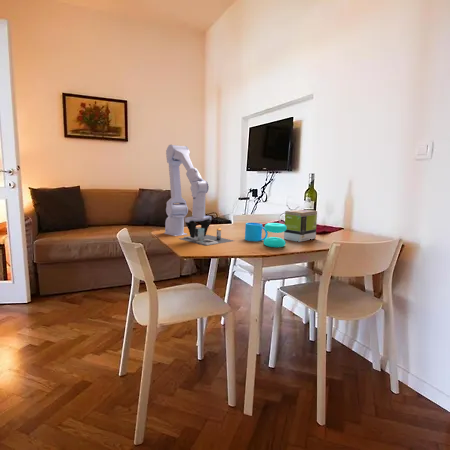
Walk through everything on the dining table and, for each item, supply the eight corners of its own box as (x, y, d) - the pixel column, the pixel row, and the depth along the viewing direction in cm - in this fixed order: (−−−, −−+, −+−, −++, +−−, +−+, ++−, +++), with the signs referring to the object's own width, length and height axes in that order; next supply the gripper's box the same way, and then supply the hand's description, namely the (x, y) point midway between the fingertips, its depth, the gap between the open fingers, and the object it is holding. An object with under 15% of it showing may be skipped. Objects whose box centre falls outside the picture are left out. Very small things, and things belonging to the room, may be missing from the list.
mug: (241, 240, 166) (242, 223, 164) (250, 238, 172) (251, 222, 171) (262, 244, 158) (263, 226, 157) (271, 241, 165) (272, 225, 164)
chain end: (181, 238, 161) (181, 226, 160) (192, 237, 166) (192, 225, 165) (206, 245, 149) (207, 231, 148) (218, 243, 154) (218, 230, 153)
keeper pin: (215, 239, 162) (215, 229, 161) (218, 239, 163) (218, 228, 162) (218, 240, 160) (218, 229, 160) (221, 240, 162) (221, 229, 161)
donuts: (279, 222, 161) (291, 225, 152) (277, 243, 162) (289, 247, 153) (260, 222, 157) (271, 226, 148) (259, 244, 158) (270, 248, 149)
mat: (178, 239, 161) (178, 238, 161) (207, 235, 174) (207, 234, 174) (205, 246, 148) (205, 245, 148) (234, 241, 161) (234, 240, 161)
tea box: (299, 236, 184) (301, 208, 182) (316, 239, 177) (318, 210, 174) (282, 239, 173) (284, 210, 171) (299, 242, 166) (302, 212, 164)
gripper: (192, 209, 148) (191, 239, 150) (216, 207, 158) (215, 236, 160) (182, 207, 152) (181, 237, 154) (206, 206, 163) (205, 234, 165)
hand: (198, 236), depth 157 cm, fingers open, 6 cm apart
